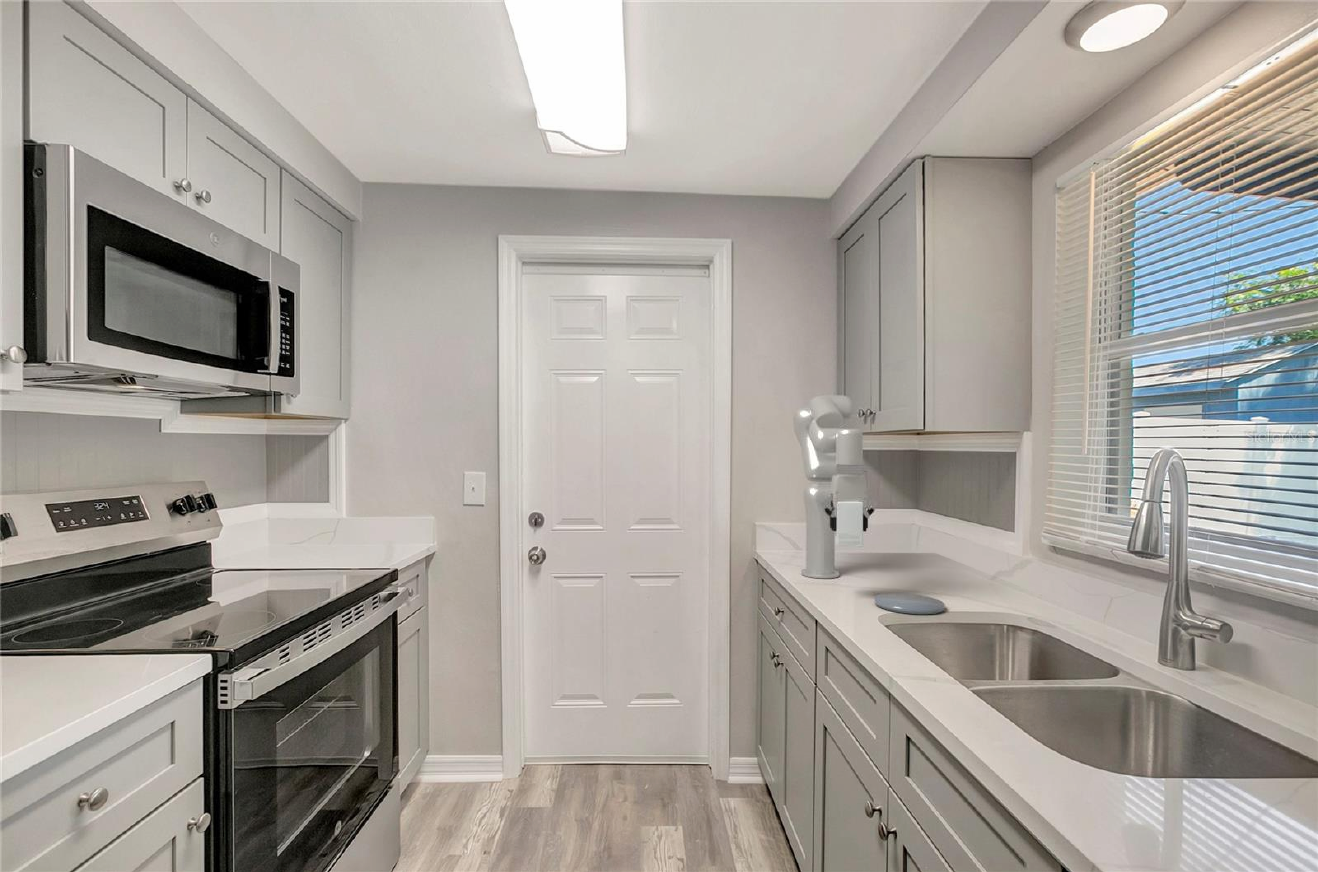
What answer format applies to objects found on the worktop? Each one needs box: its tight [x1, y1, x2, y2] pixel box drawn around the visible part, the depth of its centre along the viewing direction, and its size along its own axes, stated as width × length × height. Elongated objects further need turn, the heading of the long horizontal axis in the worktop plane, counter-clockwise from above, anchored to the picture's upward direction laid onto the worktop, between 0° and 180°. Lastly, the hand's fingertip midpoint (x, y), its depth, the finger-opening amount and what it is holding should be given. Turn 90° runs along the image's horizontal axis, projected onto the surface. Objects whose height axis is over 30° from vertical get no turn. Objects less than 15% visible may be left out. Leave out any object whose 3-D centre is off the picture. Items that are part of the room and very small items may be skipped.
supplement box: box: [835, 502, 864, 548], centre depth 183 cm, size 7×7×13 cm
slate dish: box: [874, 592, 946, 615], centre depth 173 cm, size 18×18×2 cm
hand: (848, 530), depth 183 cm, fingers closed on supplement box, 8 cm apart
